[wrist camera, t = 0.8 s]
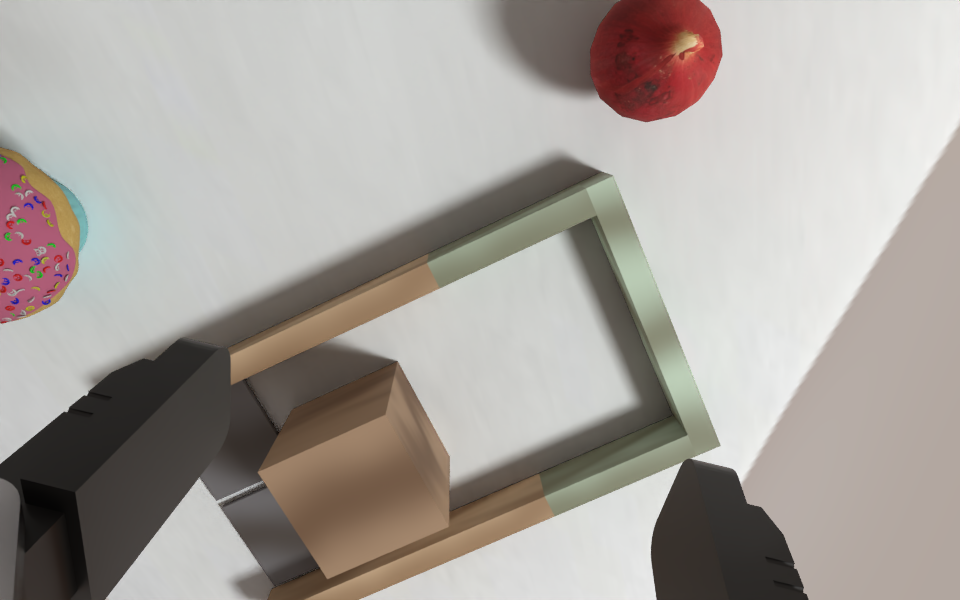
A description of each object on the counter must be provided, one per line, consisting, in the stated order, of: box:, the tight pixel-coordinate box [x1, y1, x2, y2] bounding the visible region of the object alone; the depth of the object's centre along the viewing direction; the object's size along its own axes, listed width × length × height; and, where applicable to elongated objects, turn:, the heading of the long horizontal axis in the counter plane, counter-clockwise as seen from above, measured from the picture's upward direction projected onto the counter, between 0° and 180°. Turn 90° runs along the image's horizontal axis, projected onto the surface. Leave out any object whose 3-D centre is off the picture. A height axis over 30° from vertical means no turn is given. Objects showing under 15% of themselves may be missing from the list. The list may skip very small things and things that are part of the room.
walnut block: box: [258, 361, 450, 579], centre depth 35 cm, size 7×7×7 cm
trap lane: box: [200, 172, 721, 600], centre depth 36 cm, size 17×30×2 cm, turn 115°
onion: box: [590, 0, 722, 122], centre depth 29 cm, size 6×6×8 cm
